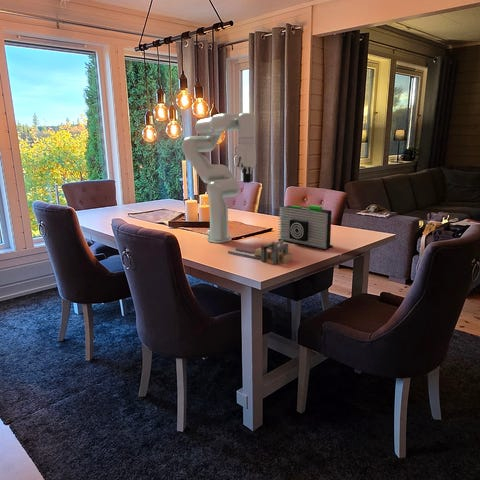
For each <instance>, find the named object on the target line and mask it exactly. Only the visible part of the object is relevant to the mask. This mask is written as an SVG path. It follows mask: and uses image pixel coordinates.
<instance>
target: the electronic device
mask: <svg viewBox="0 0 480 480" xmlns="http://www.w3.org/2000/svg"><path fill="white" fill-rule="evenodd" d="M278 208H279V209H278V218H279V219H278V236H277V238H278V240H277V242H278V241H280V240H283V243H285V244H291V245H296V246H301V247H306V248H310V249H316V250H320V251H323V250H324V251H325V252H326V251H328V250H331V249H333V248H334V245H332V244H331V234H332V232H331V231H332V212H333V211H332V210H330V209H329V210H328V209H323V206H320V205H314V204H313V205H312V204H310V205H308V206H299V205H292V204H290V205H286V206H284V205H279V206H278ZM330 248H331V249H330ZM324 251H323V252H324Z"/></svg>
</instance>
